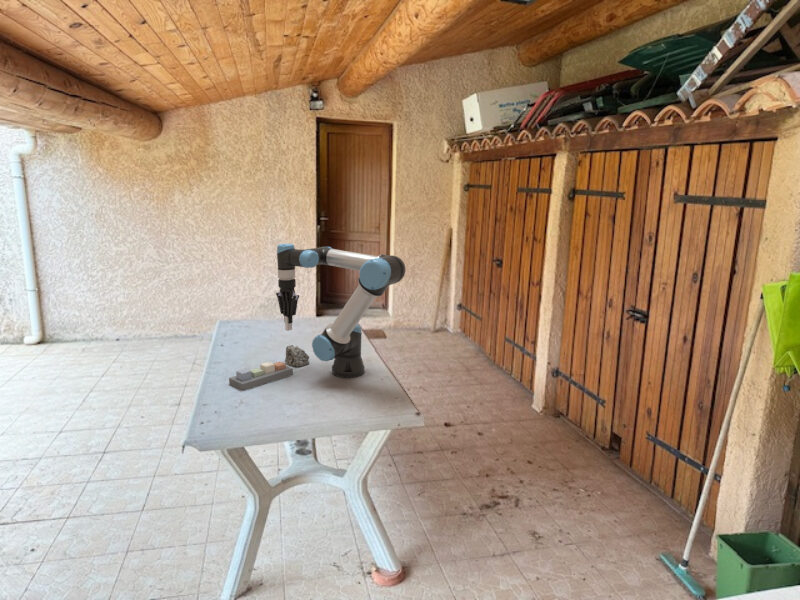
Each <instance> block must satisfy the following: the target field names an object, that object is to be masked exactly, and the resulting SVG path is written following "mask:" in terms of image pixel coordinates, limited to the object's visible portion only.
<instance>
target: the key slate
mask: <svg viewBox="0 0 800 600" xmlns="http://www.w3.org/2000/svg"><path fill="white" fill-rule="evenodd" d="M250 370H251V369H247V368H243V369H239V370H236V371H235V372H236V373H235V374H236V375H235V376H236V379H238V380H240V381H242V382H243V381H246V380H249V379H251V371H250Z"/></svg>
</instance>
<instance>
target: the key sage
mask: <svg viewBox="0 0 800 600" xmlns="http://www.w3.org/2000/svg"><path fill="white" fill-rule="evenodd" d="M249 370H250V371H251V377H254V378H256V377H259V376H262V375H263V370H261V369H260V368H258V367H257V368H252V369H249Z"/></svg>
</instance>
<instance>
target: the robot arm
mask: <svg viewBox="0 0 800 600" xmlns="http://www.w3.org/2000/svg"><path fill="white" fill-rule="evenodd" d="M276 259H277V278H278V281H277V283H278V284H277V285H278V288H279V291H278V292H276V293H275V296H276V298H277V301H278V307H279V312H280V314H282V315H283V317H284V318H283V319H284V320H283V321H284V328H285V331H286V332H287V331H292V330H293V316H296V314H297V308H298V300H299V298H300V295H299V294H296V291H295V288H296V285H297V284H296V267H299V268H306V269H309V268H310V269H311V268H315V267H316V266H318V265H325V266H332V267H337V268H343V269H346V270H347V269H348V270H355V271H359V272H358V274H359V277H358V278H357V282H358V285H357V287H356V289H355V290H354V292H353V293H352V295H351V297H349V298H348V300H347V302H346V303H345V304H344V306H343V307H342V309H341V311H340V312H339V314H338V316H337V317H336V318H335V320H334V321H333V322H332V323H329V324H327V326H325V328H324V330H323V331H322V333H320V334H317V335H316V336H315V337H314V338H313V340H312V343H311V347H312V350H313V353H314V355H315V357H316V358H317V359H319V360H320V361H322V362H329V361H332V360H333V364H332V366H331V373H332V375H334V376H336V377H338V378H339V377H340V378H347V379H348V378H357V377H360V376H362V375H364V374H365V371H366V369H365V365H364V361H363V358H362V326H361V325H360V324H359V323H360V321H361V319H362V318H363V317H364V315H365V314H366V313H367V312H368V310H369V308H370V307H371V306H372V304H373V302H374V301H375V299H376V298H377V297H382V296H383V295H384V294H385V292H386V290H387V289H388V288H389V286H391V285H395V284H398V283H399V282H401V281H402V280H403V278H404V277H405V275H406V265H405V263H404V261H403V260H402V259H401V258H400V257H398V256H396V255H390V254H389V255H388V254H379V255H373V254H365V253H362V252H361V253H360V252H354V251H346V250H342V249H337V248H336V249H335V248H332V246H319V247H314V248H308V249H307V248H306V249H301V248H300V249H297V248H295V244H294V243H279V244H278V245H277V247H276Z"/></svg>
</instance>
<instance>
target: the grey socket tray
mask: <svg viewBox="0 0 800 600" xmlns="http://www.w3.org/2000/svg"><path fill="white" fill-rule="evenodd" d="M293 375H294V368H293V367H291V366H289V365H288V366H287V365H286V368H285V369H282V370H279V371H277V370H275V372H272V373H269V374H265V373H263V375H262V376H259V377H256V378H254V377H251V379H249V380H246V381H243V382H242V381H240V380H238V379H236V375H235V376H231V377H228V384H229V386H231V387H234V388H236V389H237V390H239V391H241V392H243V391H244V392H245V391H246V390H250V389H254V388H256V387H260V386H263V385H267V384H268V383H269V384H270V383H272V382H275V381H280V380H282V379H284V378H287V377H291V376H293Z"/></svg>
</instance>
